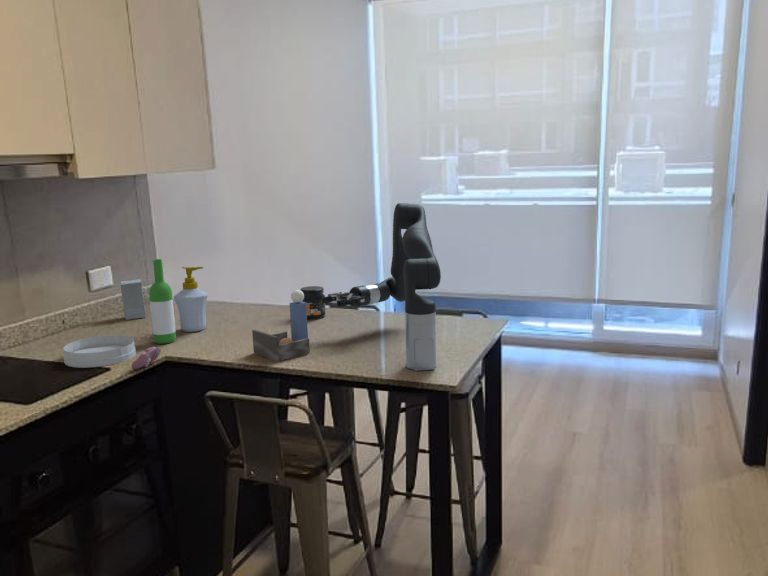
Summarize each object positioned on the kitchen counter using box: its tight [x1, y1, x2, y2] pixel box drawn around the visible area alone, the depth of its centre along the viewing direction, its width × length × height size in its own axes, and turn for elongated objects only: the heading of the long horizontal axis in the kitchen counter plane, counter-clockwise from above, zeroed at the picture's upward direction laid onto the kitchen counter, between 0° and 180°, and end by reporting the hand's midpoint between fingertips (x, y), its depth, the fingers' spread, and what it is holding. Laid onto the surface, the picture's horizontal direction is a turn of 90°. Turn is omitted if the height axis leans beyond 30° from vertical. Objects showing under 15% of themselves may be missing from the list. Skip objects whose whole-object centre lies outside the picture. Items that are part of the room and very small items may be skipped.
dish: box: [62, 334, 137, 369], centre depth 214 cm, size 22×22×5 cm
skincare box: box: [119, 279, 147, 321], centre depth 269 cm, size 8×7×16 cm
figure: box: [289, 289, 309, 342], centre depth 217 cm, size 4×4×20 cm
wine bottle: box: [148, 258, 177, 345], centre depth 229 cm, size 8×8×30 cm
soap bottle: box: [173, 266, 209, 333], centre depth 246 cm, size 13×13×25 cm
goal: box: [251, 329, 311, 363], centre depth 213 cm, size 13×14×8 cm
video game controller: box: [131, 346, 162, 370], centre depth 204 cm, size 10×5×7 cm, turn 170°
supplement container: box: [299, 285, 327, 320], centre depth 263 cm, size 10×10×12 cm
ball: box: [279, 337, 293, 345], centre depth 214 cm, size 5×5×5 cm
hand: (329, 302), depth 223 cm, fingers open, 8 cm apart
